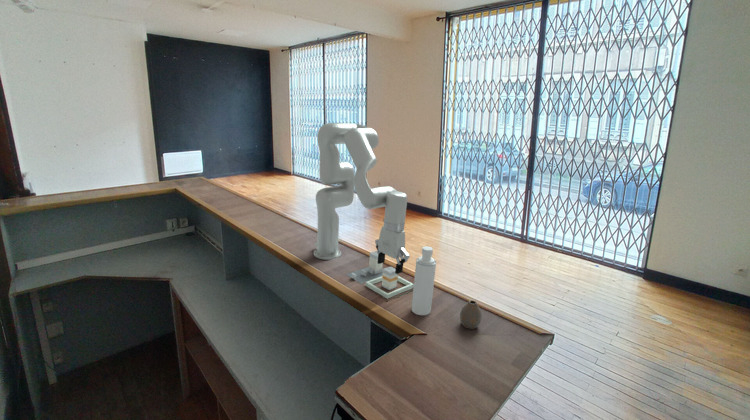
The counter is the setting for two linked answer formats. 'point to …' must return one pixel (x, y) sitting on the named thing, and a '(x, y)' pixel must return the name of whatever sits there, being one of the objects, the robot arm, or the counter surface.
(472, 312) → the vase
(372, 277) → the block
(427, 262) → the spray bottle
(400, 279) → the tray
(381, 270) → the block
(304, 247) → the counter surface
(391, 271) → the block
